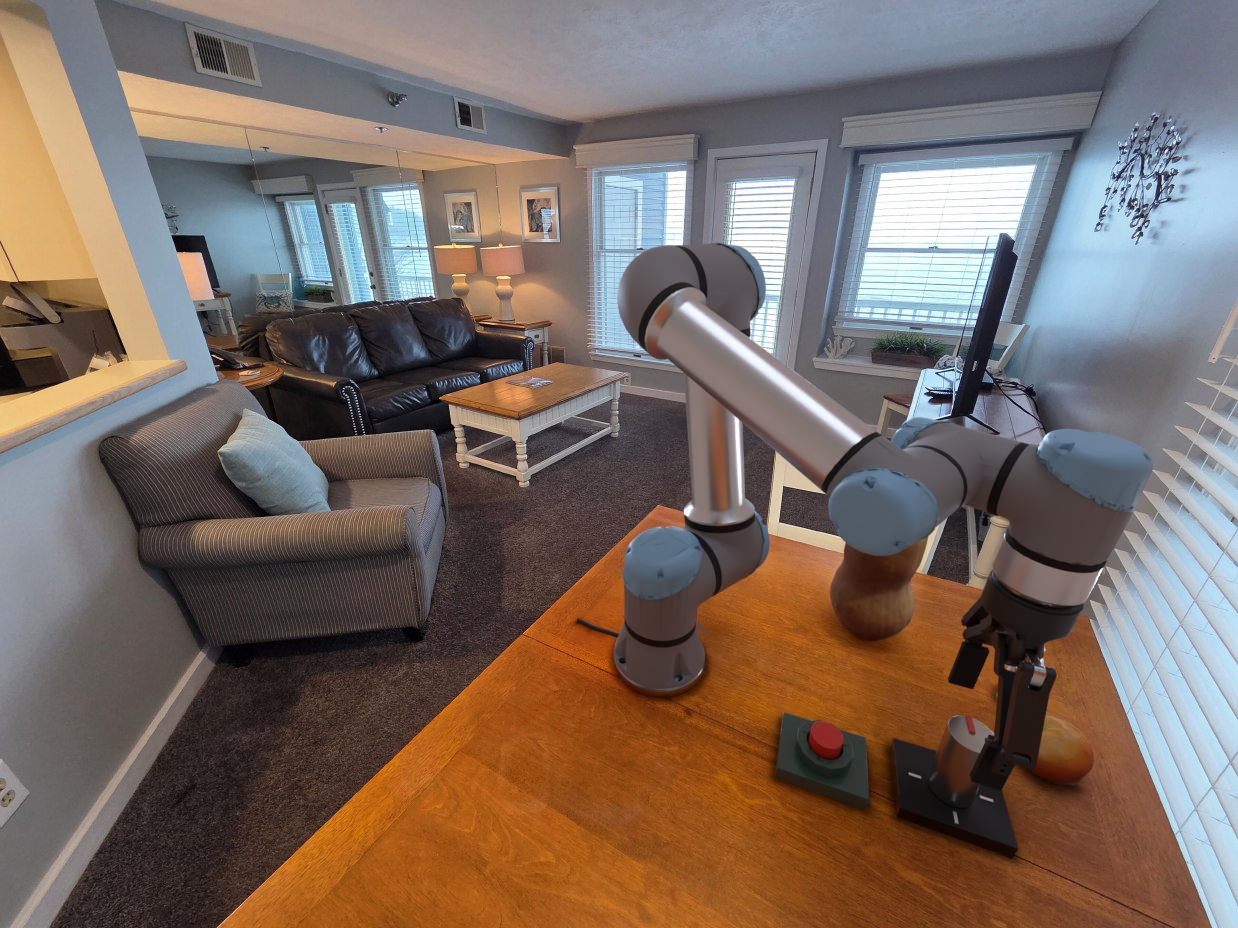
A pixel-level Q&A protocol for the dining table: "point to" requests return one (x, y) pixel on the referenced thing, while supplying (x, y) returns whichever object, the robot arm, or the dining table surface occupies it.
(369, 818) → the dining table surface
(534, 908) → the dining table surface
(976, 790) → the dial
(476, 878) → the dining table surface
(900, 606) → the butternut squash
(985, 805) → the dial panel
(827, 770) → the button box
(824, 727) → the button
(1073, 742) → the fruit
